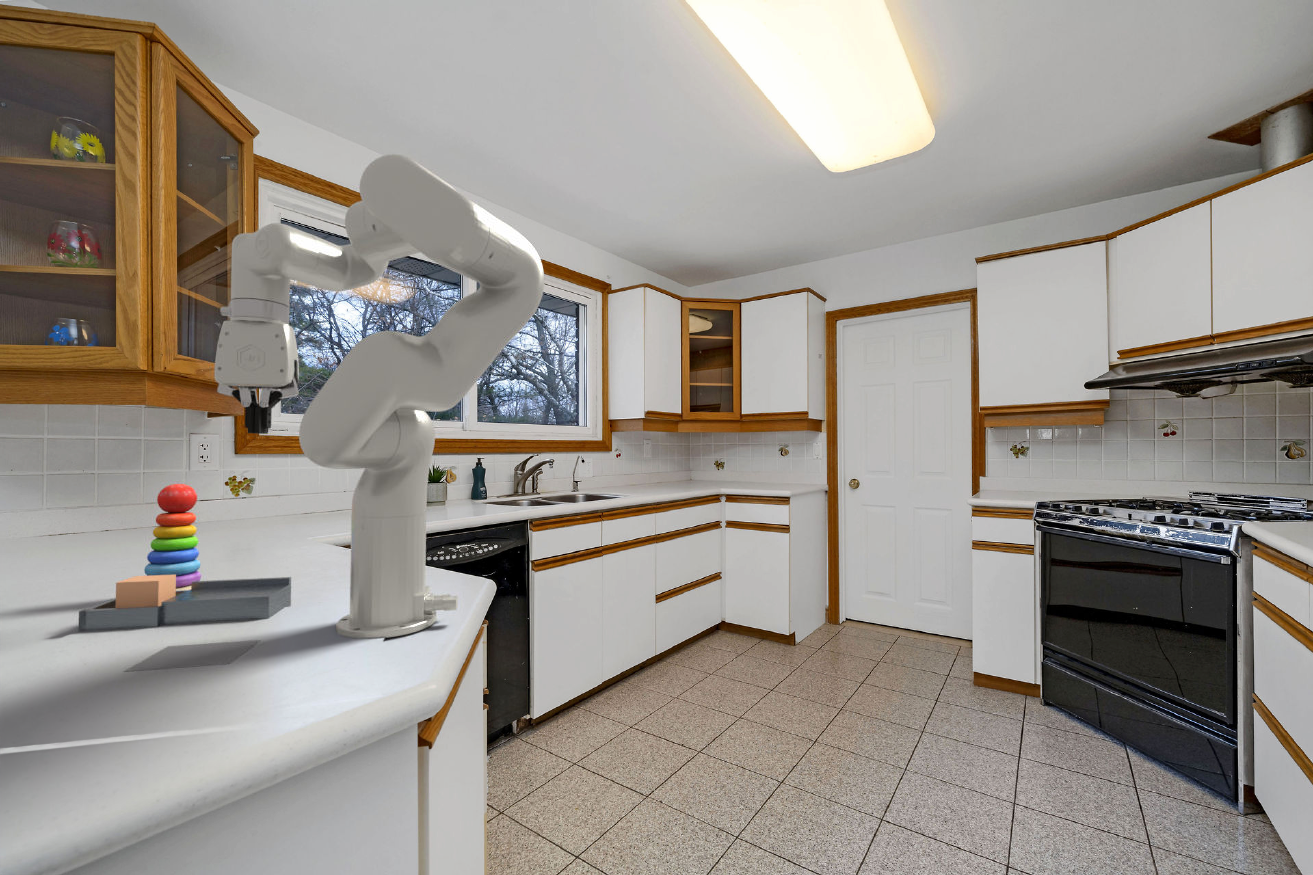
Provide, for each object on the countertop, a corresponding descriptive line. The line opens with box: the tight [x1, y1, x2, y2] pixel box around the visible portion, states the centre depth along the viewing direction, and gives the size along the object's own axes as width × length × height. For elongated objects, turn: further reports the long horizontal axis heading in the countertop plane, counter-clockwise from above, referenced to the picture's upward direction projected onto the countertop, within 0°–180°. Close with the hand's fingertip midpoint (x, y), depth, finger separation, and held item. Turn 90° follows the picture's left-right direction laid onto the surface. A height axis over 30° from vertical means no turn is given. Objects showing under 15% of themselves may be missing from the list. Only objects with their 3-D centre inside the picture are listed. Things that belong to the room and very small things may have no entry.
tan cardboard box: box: [115, 575, 176, 608], centre depth 79 cm, size 5×4×5 cm
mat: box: [122, 639, 262, 673], centre depth 65 cm, size 10×8×1 cm
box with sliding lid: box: [77, 576, 292, 632], centre depth 81 cm, size 22×10×4 cm, turn 104°
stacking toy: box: [143, 483, 202, 591], centre depth 92 cm, size 8×8×19 cm
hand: (258, 433), depth 87 cm, fingers closed
